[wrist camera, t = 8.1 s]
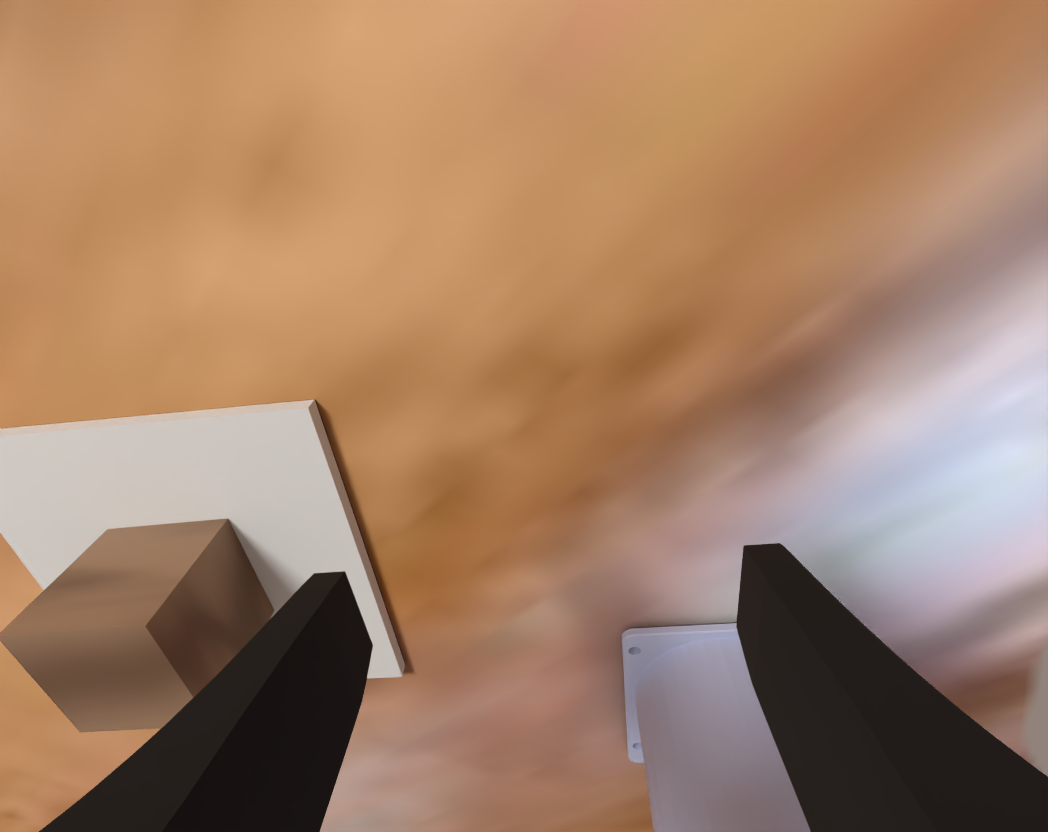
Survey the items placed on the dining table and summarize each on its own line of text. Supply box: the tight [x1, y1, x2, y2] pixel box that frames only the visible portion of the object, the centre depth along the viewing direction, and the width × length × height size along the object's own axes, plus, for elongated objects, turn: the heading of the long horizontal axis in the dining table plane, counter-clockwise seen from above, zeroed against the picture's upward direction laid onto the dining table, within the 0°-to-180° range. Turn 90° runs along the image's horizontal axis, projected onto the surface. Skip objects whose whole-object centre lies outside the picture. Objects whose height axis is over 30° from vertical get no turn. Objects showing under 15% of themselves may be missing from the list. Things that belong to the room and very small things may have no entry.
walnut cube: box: [0, 518, 275, 732], centre depth 20 cm, size 5×5×5 cm
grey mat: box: [0, 400, 405, 678], centre depth 23 cm, size 14×14×1 cm
